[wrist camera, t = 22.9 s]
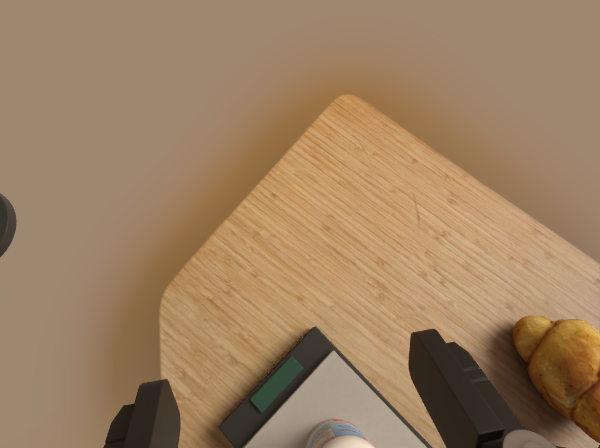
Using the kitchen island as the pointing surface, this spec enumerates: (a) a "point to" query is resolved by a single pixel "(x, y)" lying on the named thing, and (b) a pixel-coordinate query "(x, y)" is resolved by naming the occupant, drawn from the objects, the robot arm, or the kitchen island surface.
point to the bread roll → (564, 366)
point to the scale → (315, 402)
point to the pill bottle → (337, 435)
